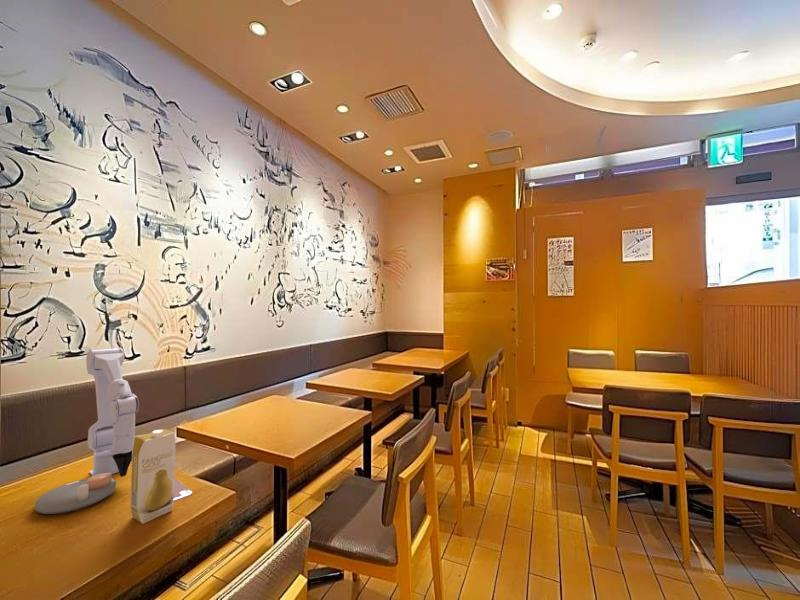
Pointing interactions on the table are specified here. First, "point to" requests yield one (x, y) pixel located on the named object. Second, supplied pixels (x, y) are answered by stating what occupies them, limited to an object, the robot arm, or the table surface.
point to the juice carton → (152, 475)
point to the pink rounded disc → (99, 481)
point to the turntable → (71, 497)
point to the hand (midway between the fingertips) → (122, 475)
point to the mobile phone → (180, 490)
